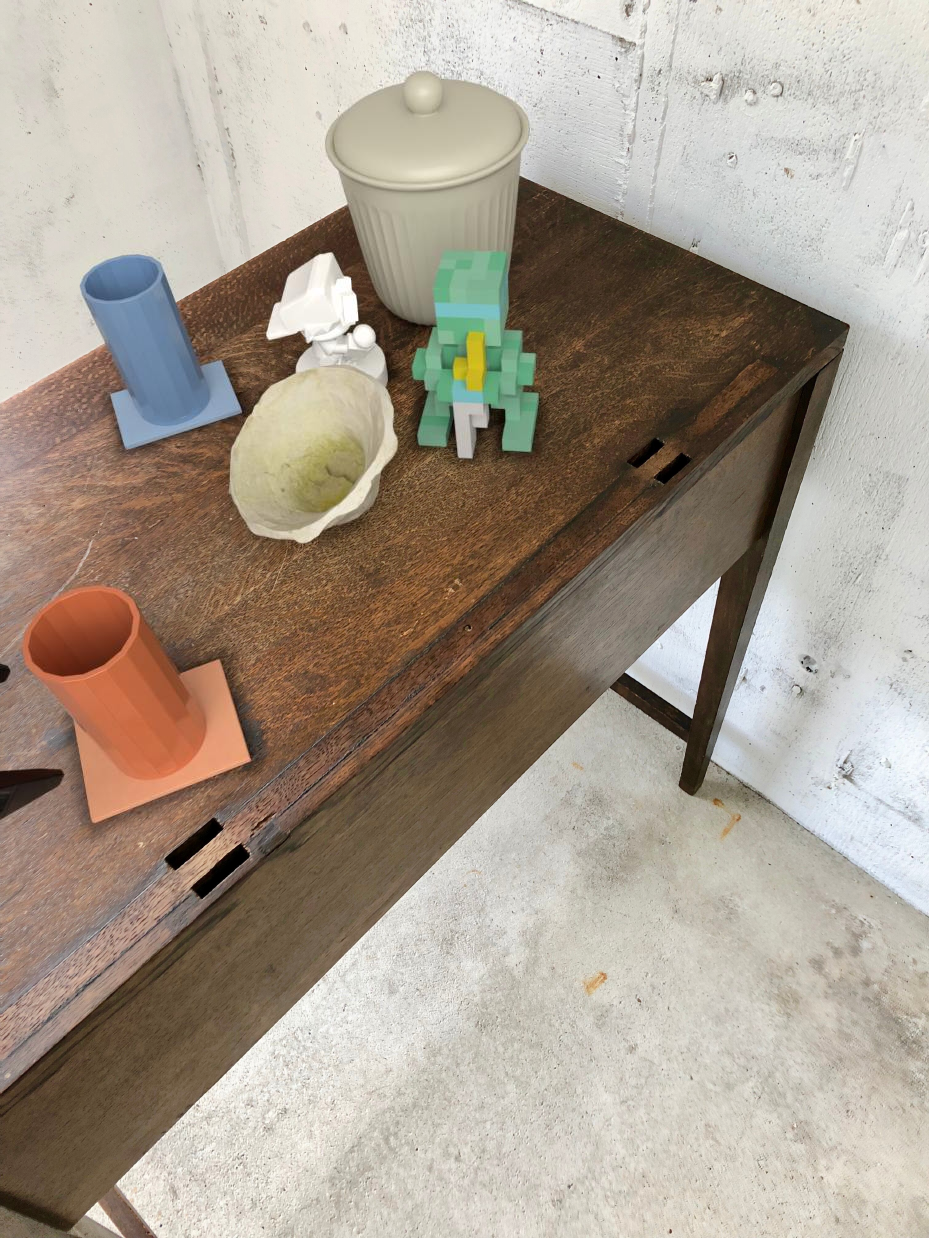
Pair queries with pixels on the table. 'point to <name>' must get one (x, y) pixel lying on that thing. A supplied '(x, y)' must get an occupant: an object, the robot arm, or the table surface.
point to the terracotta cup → (115, 680)
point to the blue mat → (144, 432)
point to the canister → (428, 180)
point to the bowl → (312, 452)
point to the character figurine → (326, 319)
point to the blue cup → (146, 338)
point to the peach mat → (215, 756)
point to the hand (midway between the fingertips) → (33, 723)
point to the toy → (474, 357)
